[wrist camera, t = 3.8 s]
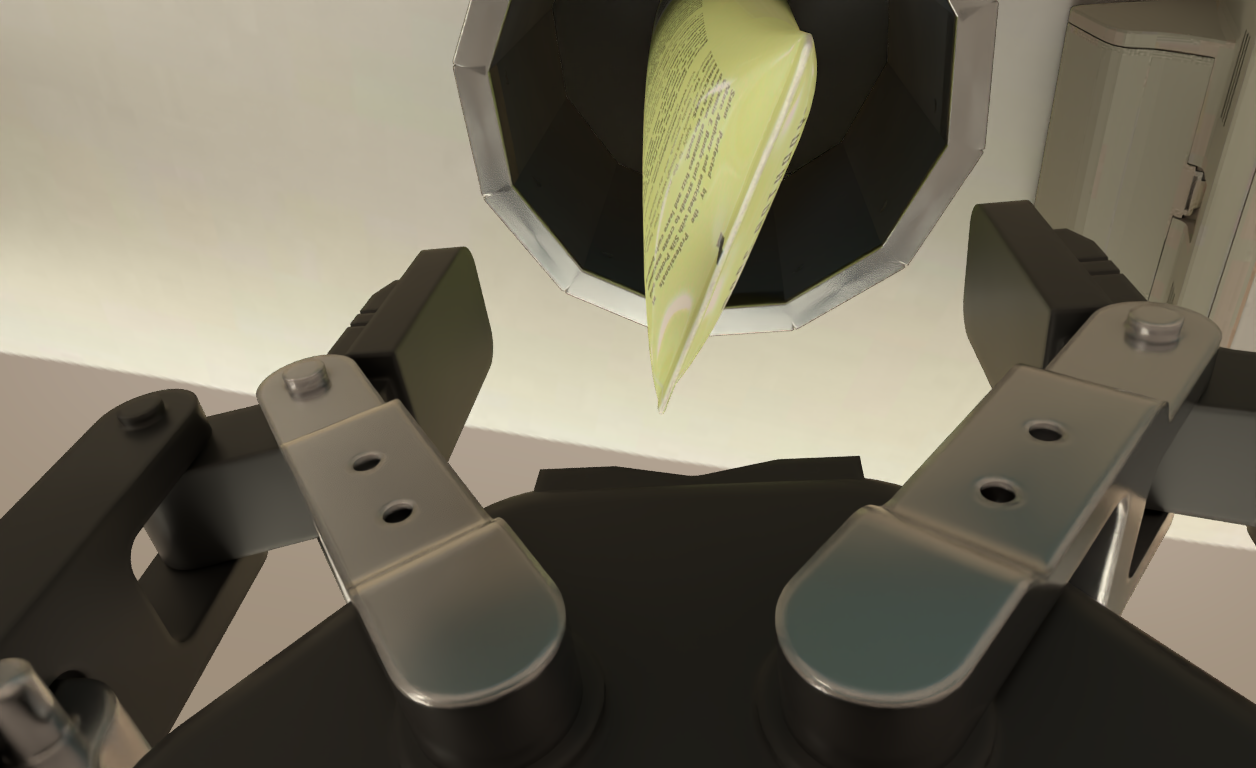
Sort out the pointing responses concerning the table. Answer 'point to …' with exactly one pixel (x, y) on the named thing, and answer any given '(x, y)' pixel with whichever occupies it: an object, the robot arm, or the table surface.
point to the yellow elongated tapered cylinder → (713, 158)
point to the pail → (804, 203)
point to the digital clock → (1162, 151)
